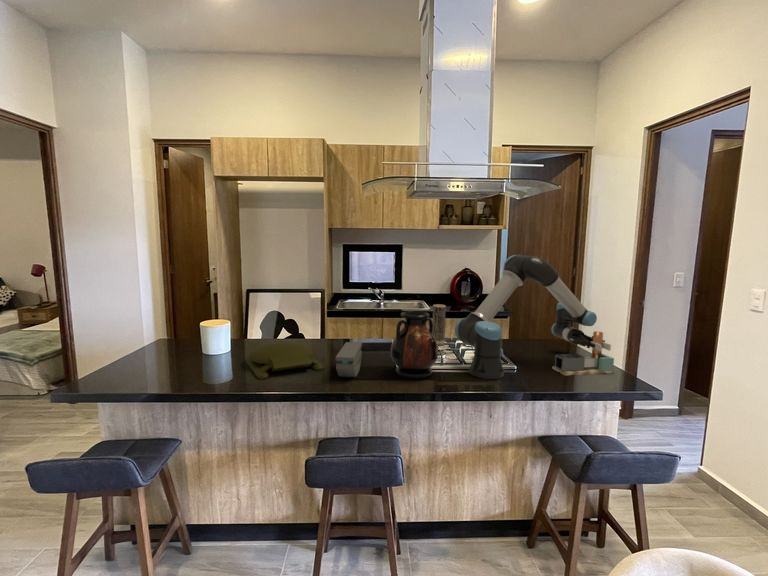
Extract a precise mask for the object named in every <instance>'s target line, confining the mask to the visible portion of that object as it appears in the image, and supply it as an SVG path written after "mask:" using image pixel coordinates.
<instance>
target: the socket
mask: <svg viewBox="0 0 768 576" xmlns="http://www.w3.org/2000/svg"><path fill="white" fill-rule="evenodd" d="M588 354H589V355H588V356H592V352H590V353H588ZM601 357H602V358H600V359H599V367H594V368H596V369H598V370H601V371H611V370H613V371H614V365H615V362H614V361H615V358H614V357H611V356H609V355H608V354H604V353H601Z"/></svg>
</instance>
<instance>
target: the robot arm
mask: <svg viewBox="0 0 768 576" xmlns="http://www.w3.org/2000/svg"><path fill="white" fill-rule="evenodd" d="M503 266H504V267H503V270H502V277H501V278H500V279H499V281H498V282H497V283H496V284H495V286H494V287H493V289H491V290H490V292H489V293H488V295H487V296H486V297H485V299H484V300H483V301H482V302H481V304H480V305H479V306H478V308H476V309H475V311H474V312H473V311H472V312H470V313H469V314H468V315H467V316H466V317H463V318H460V319H459V320H458V321H457V322H456V323H455V326H454V333H455V336H456V338H457V339H458V340H459V341H460V342H462V343H463V344H466V345H469V346H471V347H472V348H473V347H474V348H473V350H474V352H473V358H472V361H471V363H470V366H469V374H470V375H472V376H473V377H475V376H476V378H480V379H484V380H496V379H497V380H498V379H500V378H503V377H504V374H505V373H504V372H505V371H504V367H503V364H502V359H501V353H502V351H501V348H502V335H503V334H502V333H503V332H502V327H501V326H500V324H498V323H495V322H493V321H492V320H493V319H494V318H495V316H496V315H497V313H499V311H500V310H501V309H502V307H503V305H504V304H506V302H507V300H508V299H509V298H510V297H511V295H512V294H513V292H515V290H516V289H517V288H518V287H522V286H523V285H524V284H525V282H526V281H533V282H536V283H538V284H539V285H540V286H541V287H543V288H546V289H547V290H548V292H550V293H551V295H552V297H554V298H555V299H556V301H558V303H557V304H556V310H555V311H556V312H555V323H553V325H552V326H551V327H550V330H551V334H552V335H554V336H555V337H557V338H559V339H562V340H565V341H567V342H568V343H570V344H571V343H572V344H574V345H580V346H582V347H586V348H587V349H590V348H591V349H592V348H594V349H597V350H599V351H601V348H602V349H603V350H607V351H611V349H612V348H611V347H612V346H611V344H610V343H607V342H606V340H604V339H603V340H602V345H600V344H598V343H595V342H593V335H592V336H591V335H590V336H589V335H587V334H585V332H584V331H582V330H580V329H578V328H575V327H573V326H571V324H572V323H573V324H577V325H580V326H584V327H593V326H594V325H595V324H596V322H597V320H598V318H597V315H596V313H595V312H594V311H591V310H587V308H586V307H585V306H584V305H583V304H582V303H581V301H580V300H579V299H578V297H576V296H575V294H574V293H573V292H572V291H571V289H570V288H568V286H567V285H566V284H565V283H564V282H563V281H562V279H561V278H560V275H559V272H558V271H557V270H556V269H555V267H553V265H551V264H550V263H549V262H548V261H546V260H545V259H544V258H542V257H539V256H536V255H523V254H514V255H511V256H509V257H508V258H506V260H505V261H504V264H503Z"/></svg>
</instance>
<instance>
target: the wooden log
mask: <svg viewBox="0 0 768 576" xmlns="http://www.w3.org/2000/svg"><path fill="white" fill-rule="evenodd" d="M446 308H447V307H446V305H445V304H439V303H437V304H433V305H432V323H433V336H434V337H435V340H436V342H437V346H444V347H445V340H446V339H445V338H446V337H445V335H446V333H445V332H446V311H447V310H446Z"/></svg>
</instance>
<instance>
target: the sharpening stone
mask: <svg viewBox="0 0 768 576" xmlns="http://www.w3.org/2000/svg"><path fill="white" fill-rule="evenodd" d="M362 347H363V342H352V341H350V342H348V341H345V343H344V344H343V346H342V347H341V349H340V350H339V352H337V354H336V356H335V362H336V361H337V362H336V363H335V369H336V372H337V376H338V377H341V378H342V377H344V378H357V376H358V374H359V372H360V370H361V363H362V355H363V354H362V353H363V352H362V351H363V350H362Z"/></svg>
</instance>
